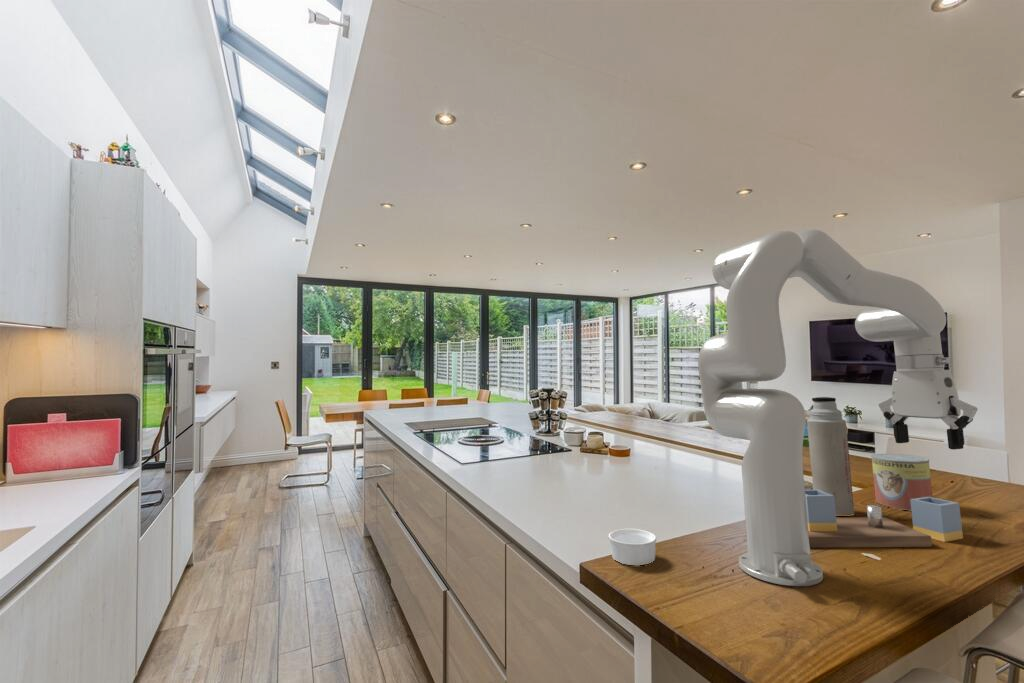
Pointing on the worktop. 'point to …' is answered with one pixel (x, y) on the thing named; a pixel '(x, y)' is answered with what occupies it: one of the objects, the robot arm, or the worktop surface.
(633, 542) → the ramekin
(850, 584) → the worktop surface
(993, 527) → the worktop surface
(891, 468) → the canned food
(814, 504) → the seated sleeve
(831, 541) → the pin board
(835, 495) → the thermos bottle
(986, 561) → the worktop surface
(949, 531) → the slate sleeve
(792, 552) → the robot arm
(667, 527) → the worktop surface
